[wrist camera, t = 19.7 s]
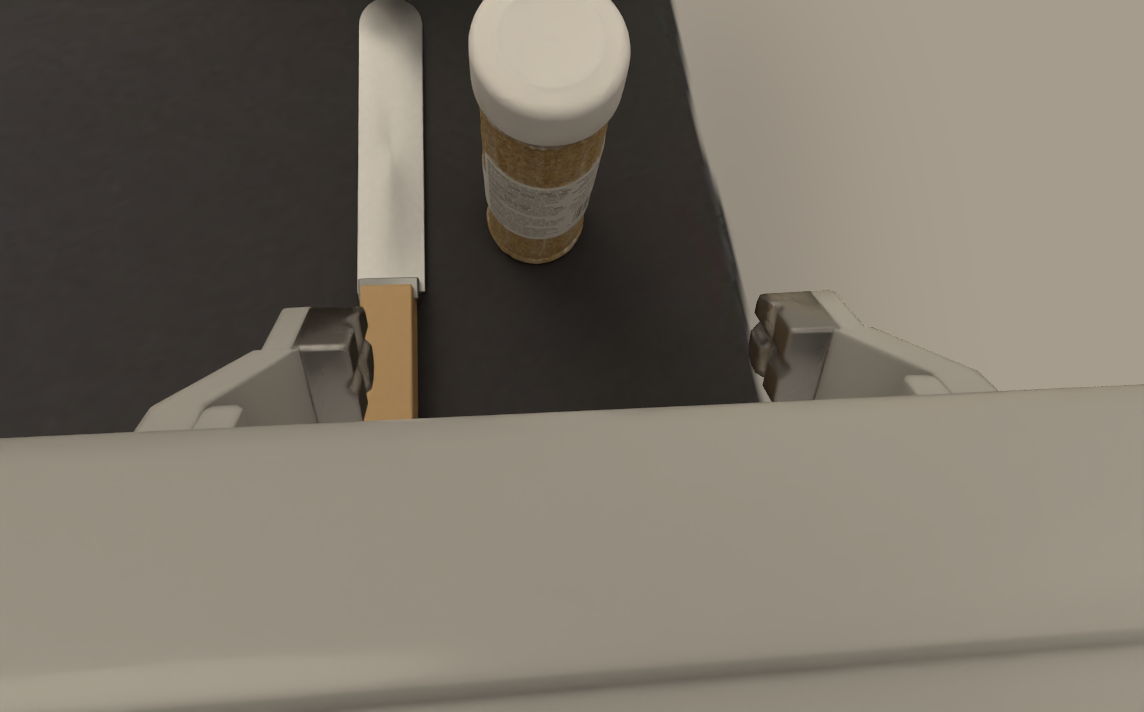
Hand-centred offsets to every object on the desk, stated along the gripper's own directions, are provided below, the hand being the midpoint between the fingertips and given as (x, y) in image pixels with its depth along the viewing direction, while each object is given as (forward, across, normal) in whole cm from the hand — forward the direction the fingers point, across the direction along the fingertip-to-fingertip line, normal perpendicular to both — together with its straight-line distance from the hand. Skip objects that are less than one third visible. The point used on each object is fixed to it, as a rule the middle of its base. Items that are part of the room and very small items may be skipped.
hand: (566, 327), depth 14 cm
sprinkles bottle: (+18, 0, +5) cm, 19 cm away
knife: (+18, +6, +5) cm, 20 cm away
